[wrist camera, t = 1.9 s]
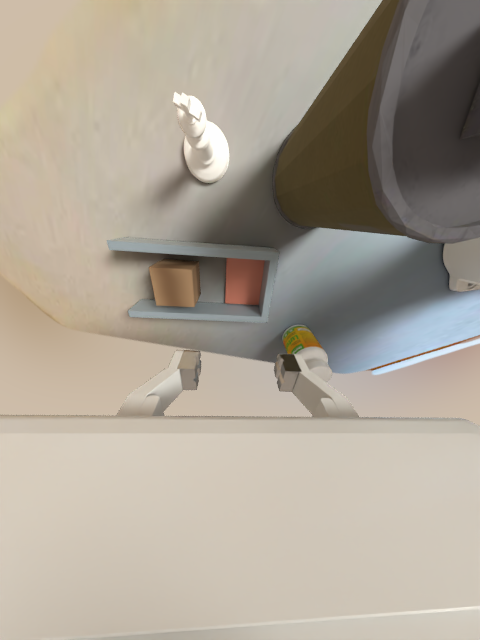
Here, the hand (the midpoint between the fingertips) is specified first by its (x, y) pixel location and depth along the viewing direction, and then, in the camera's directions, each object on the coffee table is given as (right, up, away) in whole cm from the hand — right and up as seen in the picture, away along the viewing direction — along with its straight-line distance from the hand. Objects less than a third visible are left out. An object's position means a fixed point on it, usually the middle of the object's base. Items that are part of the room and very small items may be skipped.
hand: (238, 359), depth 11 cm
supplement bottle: (+11, 0, +21) cm, 23 cm away
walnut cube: (-9, +9, +14) cm, 19 cm away
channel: (-6, +9, +14) cm, 18 cm away
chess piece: (-4, +21, +8) cm, 23 cm away
